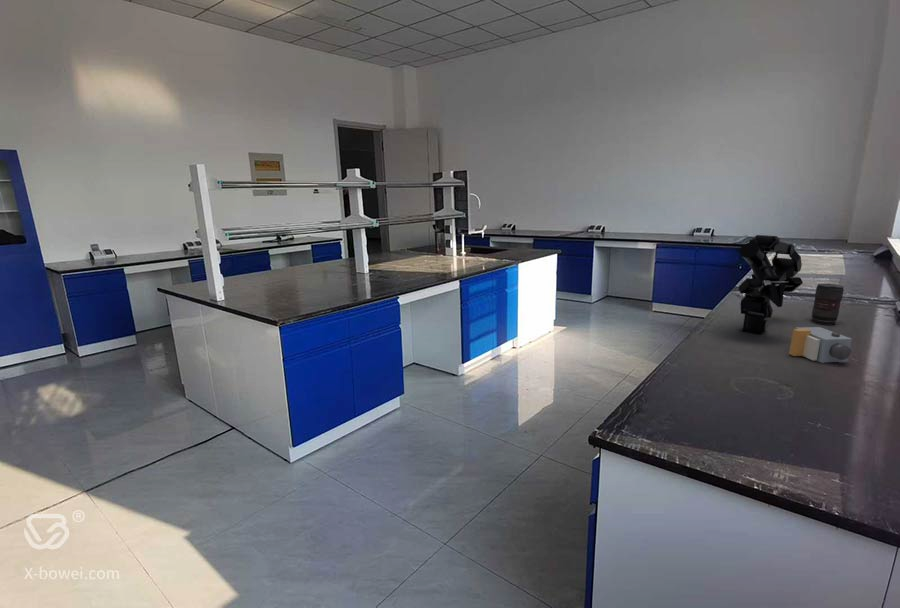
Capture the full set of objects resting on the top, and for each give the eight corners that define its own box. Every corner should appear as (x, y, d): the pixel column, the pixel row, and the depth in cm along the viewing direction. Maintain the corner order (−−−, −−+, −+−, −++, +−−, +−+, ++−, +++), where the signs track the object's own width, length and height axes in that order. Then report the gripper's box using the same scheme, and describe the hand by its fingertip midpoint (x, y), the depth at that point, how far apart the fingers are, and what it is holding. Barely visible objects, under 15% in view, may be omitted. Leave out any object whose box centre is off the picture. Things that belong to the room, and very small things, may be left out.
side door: (789, 353, 144) (793, 329, 142) (801, 353, 144) (806, 328, 142) (803, 360, 139) (808, 335, 137) (816, 360, 139) (821, 334, 137)
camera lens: (841, 326, 172) (849, 287, 168) (817, 325, 173) (824, 287, 170) (829, 320, 179) (836, 283, 176) (806, 319, 181) (812, 282, 177)
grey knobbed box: (791, 349, 149) (795, 325, 147) (815, 348, 149) (820, 324, 147) (827, 365, 135) (832, 339, 133) (854, 365, 135) (859, 338, 133)
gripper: (773, 280, 165) (791, 317, 157) (723, 281, 165) (739, 319, 157) (793, 262, 156) (814, 301, 148) (740, 263, 155) (758, 302, 147)
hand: (780, 306), depth 150 cm, fingers closed
